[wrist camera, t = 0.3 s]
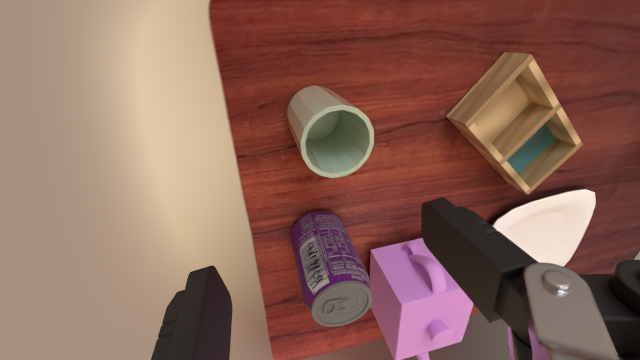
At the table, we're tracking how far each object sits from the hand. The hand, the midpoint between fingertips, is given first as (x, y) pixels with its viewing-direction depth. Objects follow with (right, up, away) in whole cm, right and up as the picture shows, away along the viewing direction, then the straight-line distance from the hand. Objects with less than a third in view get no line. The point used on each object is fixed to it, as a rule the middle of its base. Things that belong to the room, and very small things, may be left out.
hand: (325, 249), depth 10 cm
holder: (+24, +10, +25) cm, 37 cm away
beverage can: (-1, -4, +26) cm, 27 cm away
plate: (+37, -8, +39) cm, 54 cm away
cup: (-1, +10, +19) cm, 21 cm away
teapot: (+12, -12, +34) cm, 38 cm away
